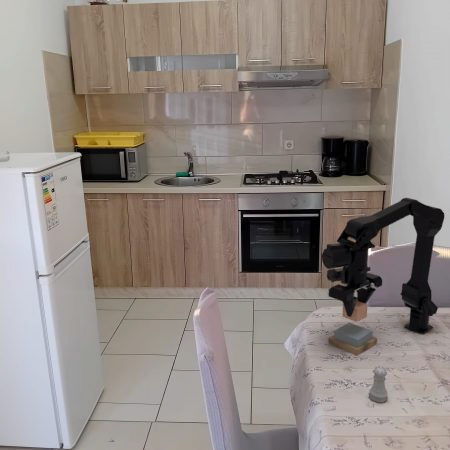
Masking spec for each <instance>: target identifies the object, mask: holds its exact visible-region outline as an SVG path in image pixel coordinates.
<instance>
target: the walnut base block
mask: <svg viewBox="0 0 450 450" xmlns="http://www.w3.org/2000/svg"><path fill="white" fill-rule="evenodd" d="M377 343H378V338H376V337H373V336H372V339H370V340H369V341H367V342H366V343H364V344H363V345H361V346H360V347H358V348H356V347H354V346H351V345H349V344H346V343H344V342H341V341H339V340H336V339H334V334H333V335H332V336H329V337H328V344H330V345H332V346H334V347H336V348H338V349H340V350H342V351H345V352H347V353H350V354H351V355H354V356H356V357H357V356H359V355H362V354H363V353H364V352H366V351H368V350H370V349H371V348H373V347H374V346H376V345H378V344H377Z"/></svg>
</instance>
